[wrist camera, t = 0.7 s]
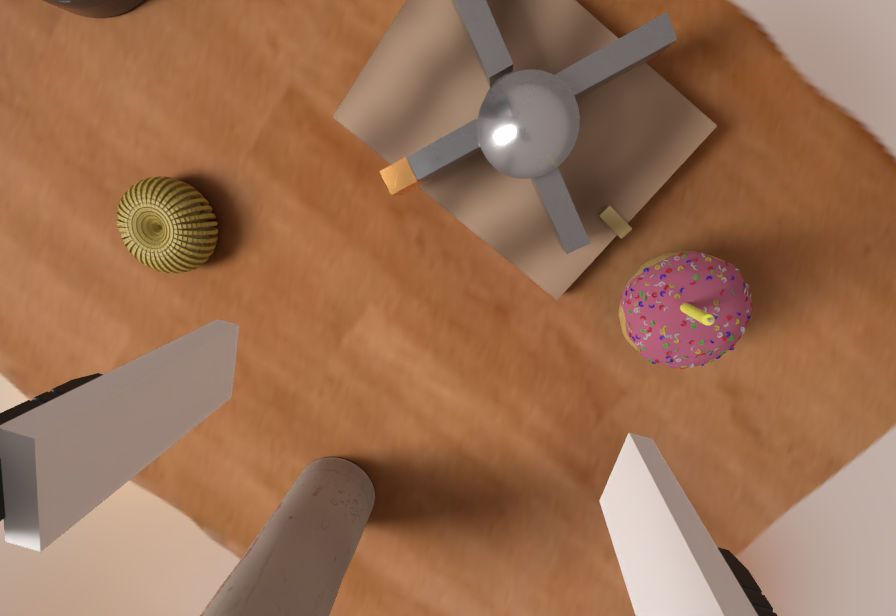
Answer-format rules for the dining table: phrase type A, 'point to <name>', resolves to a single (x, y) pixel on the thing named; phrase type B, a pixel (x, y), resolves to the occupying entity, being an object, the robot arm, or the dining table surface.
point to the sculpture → (167, 225)
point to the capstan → (529, 115)
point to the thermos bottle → (301, 546)
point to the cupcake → (685, 309)
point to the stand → (459, 101)
